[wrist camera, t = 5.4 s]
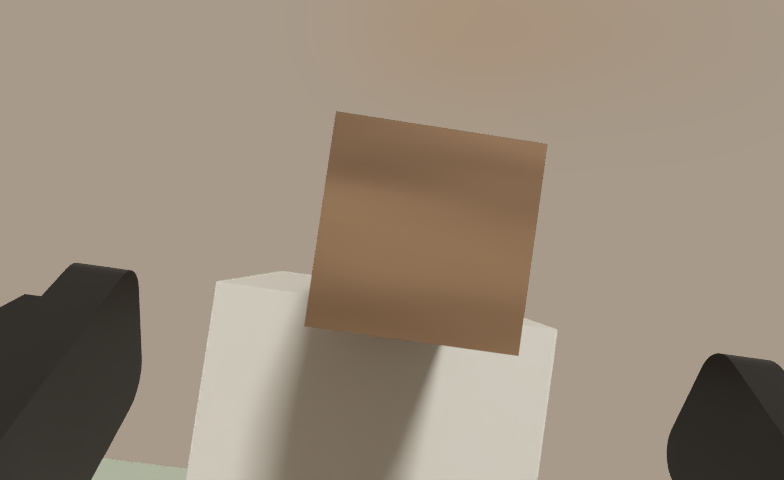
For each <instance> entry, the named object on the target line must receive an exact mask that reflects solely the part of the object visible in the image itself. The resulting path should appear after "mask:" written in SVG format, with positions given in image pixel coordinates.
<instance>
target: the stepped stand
mask: <svg viewBox="0 0 784 480" xmlns="http://www.w3.org/2000/svg"><path fill="white" fill-rule="evenodd" d="M311 277H312V275H308V274H301V273H294V272H286V271H279V272H272V273H266V274H260V275H254V276H248V277H242V278H235V279H229V280H222V281H217V282H216V289H215V295H214V302H213V308H212V315H211V321H210V328H209V334H208V341H207V347H206V354H205V361H204V367H203V373H202V379H201V386H200V392H199V400H198V405H197V412H196V418H195V425H194V432H193V438H192V444H191V451H190V457H189V464H188V469H184V468H175V467H168V466H160V465H152V464H145V463H137V462H129V461H121V460H113V459H105V458H103V459H102V461H101V463H100V465H99V466H98V468H97V470H96V472H95V474H94V476H93V478H92V479H91V480H537V479H538V472H539V464H540V457H541V450H542V442H543V435H544V427H545V420H546V413H547V405H548V398H549V390H550V383H551V375H552V368H553V360H554V353H555V345H556V338H557V329H554V328H552V327H549V326H546V325H543V324H540V323H537V322H535V321H532V320H529V319H526V318H524V319H523V327H522V334H521V341H520V349H519V356H515V355H507V354H500V353H493V352H486V351H479V350H471V349H464V348H457V347H450V346H443V345H436V344H428V343H421V342H414V341H407V340H400V339H392V338H385V337H378V336H371V335H364V334H356V333H349V332H342V331H335V330H328V329H321V328H313V327H306V326H304V324H305V317H306V311H307V304H308V297H309V290H310V284H311Z"/></svg>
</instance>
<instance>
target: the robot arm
mask: <svg viewBox="0 0 784 480" xmlns="http://www.w3.org/2000/svg"><path fill="white" fill-rule="evenodd" d="M141 365H142V355H141V331H140V308H139V287H138V279H137V276H136V274H135V273H134V272H133V271H131V270H123V269H117V268H110V267H103V266H95V265H88V264H81V263H73V264H72V265H70V266H69V267H68V268H67V269H66V270H65V271H64V272H63V273H62V274H61V275H60V276H59V278H58V279H57V280H56V281H55V282H54V283H53V284H52V285H51V286H50V287H49V288H48V290H47V291H46V292H45V293H44V294H43V295H42V296H35V295H27V294H24V295H23V296H21V297H19V298H17V299H15V300H13V301H11V302H9V303H7V304H6V305H4V306H2V307H0V480H91V479H92V478H93V476H94V474H95V472H96V470H97V468H98V466H99V465H100V463H101V461H102V459H103V457H104V455H105V454H106V452H107V450H108V448H109V446H110V444H111V442H112V441H113V439H114V437H115V435H116V433H117V431H118V429H119V428H120V426H121V424H122V422H123V420H124V418H125V416H126V414H127V413H128V411H129V409H130V407H131V405H132V403H133V400H134V398H135V395H136V392H137V388H138V384H139V379H140V374H141ZM667 463H668V469H669V473H670V476H671V478H672V480H784V370H783V369H782V368H781V367H780V366H779V365H778V364H776V363H775V362H773V361H770V360H763V359H755V358H748V357H741V356H733V355H726V354H719V353H718V354H714V355H712V356H710V357H709V358H708V359H707V360H706V361H705V363H704V364H703V366H702V368H701V370H700V372H699V374H698V376H697V379H696V380H695V382H694V384H693V387H692V389H691V391H690V393H689V395H688V397H687V399H686V401H685V403H684V405H683V407H682V409H681V411H680V413H679V415H678V417H677V419H676V421H675V424H674V426H673V428H672V430H671V432H670V435H669V439H668V444H667Z"/></svg>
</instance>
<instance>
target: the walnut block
mask: <svg viewBox="0 0 784 480" xmlns="http://www.w3.org/2000/svg"><path fill="white" fill-rule="evenodd" d="M546 151H547V144H543V143H537V142H531V141H524V140H517V139H511V138H505V137H498V136H492V135H485V134H478V133H473V132H465V131H460V130H453V129H447V128H440V127H434V126H427V125H421V124H415V123H408V122H401V121H395V120H388V119H382V118H376V117H369V116H363V115H356V114H350V113H343V112H336V116H335V123H334V130H333V136H332V143H331V150H330V156H329V163H328V170H327V176H326V183H325V190H324V196H323V203H322V210H321V217H320V223H319V230H318V237H317V244H316V250H315V257H314V264H313V270H312V277H311V284H310V290H309V297H308V304H307V311H306V317H305V324H304V326H306V327H313V328H321V329H328V330H335V331H342V332H349V333H356V334H364V335H371V336H378V337H385V338H392V339H400V340H407V341H414V342H421V343H428V344H436V345H443V346H450V347H457V348H464V349H471V350H479V351H486V352H493V353H500V354H507V355H515V356H519V349H520V341H521V334H522V327H523V319H524V312H525V305H526V297H527V290H528V282H529V275H530V268H531V261H532V253H533V246H534V239H535V231H536V224H537V217H538V209H539V202H540V195H541V187H542V180H543V172H544V165H545V158H546Z"/></svg>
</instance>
